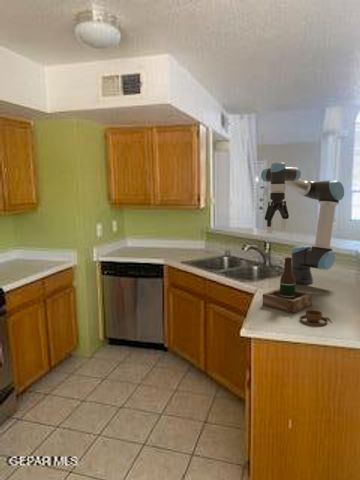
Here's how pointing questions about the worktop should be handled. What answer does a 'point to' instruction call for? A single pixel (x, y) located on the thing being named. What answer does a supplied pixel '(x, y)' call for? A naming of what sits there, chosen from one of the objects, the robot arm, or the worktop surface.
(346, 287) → the worktop surface
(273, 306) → the caddy
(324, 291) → the worktop surface
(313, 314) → the brown cup and saucer
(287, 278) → the beer bottle
